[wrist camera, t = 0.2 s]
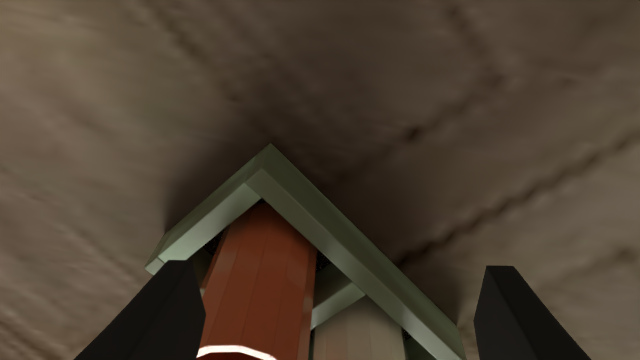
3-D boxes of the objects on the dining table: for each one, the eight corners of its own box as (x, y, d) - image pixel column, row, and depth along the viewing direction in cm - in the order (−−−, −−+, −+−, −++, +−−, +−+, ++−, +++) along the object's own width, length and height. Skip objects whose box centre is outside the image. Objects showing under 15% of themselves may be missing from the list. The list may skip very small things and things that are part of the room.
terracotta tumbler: (271, 293, 25) (238, 456, 17) (205, 237, 24) (135, 387, 16) (336, 247, 24) (333, 403, 16) (270, 183, 22) (228, 320, 14)
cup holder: (349, 387, 28) (350, 429, 26) (163, 235, 24) (143, 268, 22) (457, 326, 26) (469, 365, 23) (270, 141, 21) (261, 167, 19)
